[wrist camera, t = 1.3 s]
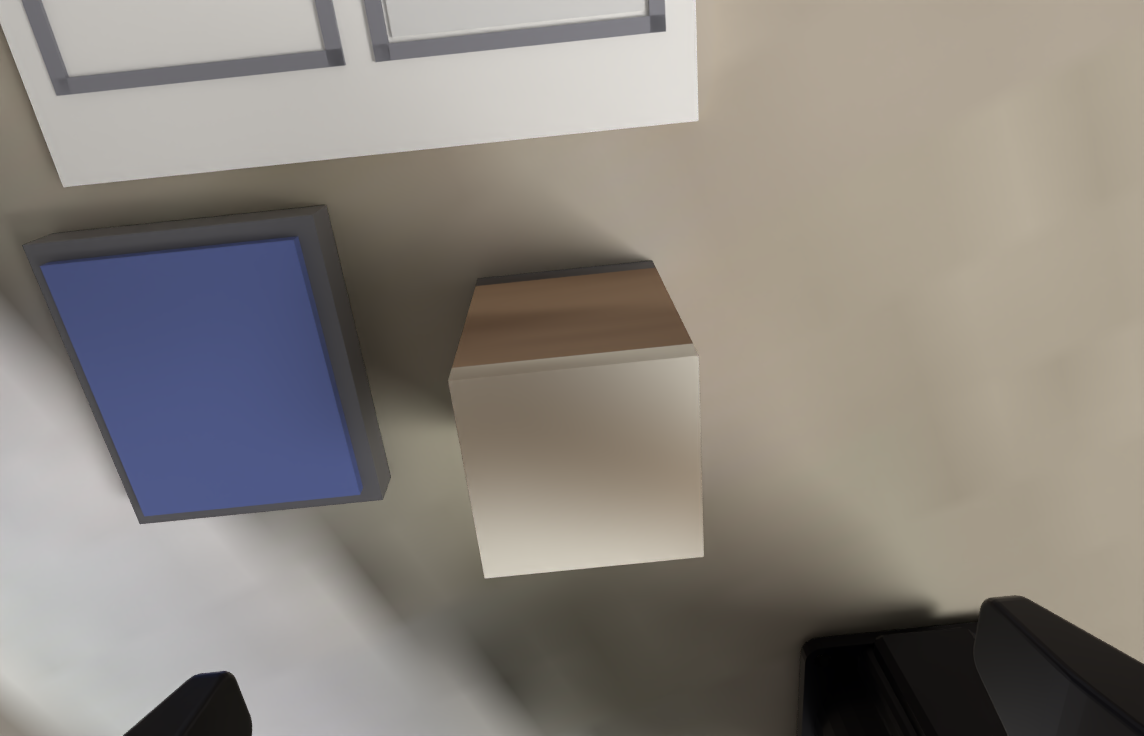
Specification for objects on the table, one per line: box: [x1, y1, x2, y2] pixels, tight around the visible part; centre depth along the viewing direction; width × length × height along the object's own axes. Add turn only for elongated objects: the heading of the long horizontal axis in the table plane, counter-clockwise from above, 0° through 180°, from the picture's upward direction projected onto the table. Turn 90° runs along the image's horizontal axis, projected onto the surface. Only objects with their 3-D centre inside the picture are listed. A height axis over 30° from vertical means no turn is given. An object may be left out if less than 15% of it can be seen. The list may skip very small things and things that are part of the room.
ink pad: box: [22, 205, 391, 524], centre depth 16 cm, size 7×6×1 cm
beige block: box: [448, 261, 704, 578], centre depth 15 cm, size 4×4×6 cm
